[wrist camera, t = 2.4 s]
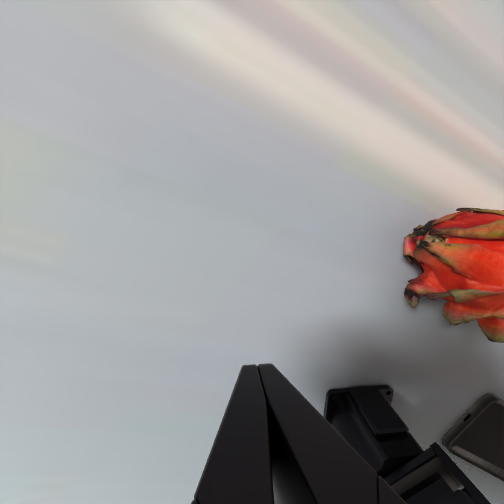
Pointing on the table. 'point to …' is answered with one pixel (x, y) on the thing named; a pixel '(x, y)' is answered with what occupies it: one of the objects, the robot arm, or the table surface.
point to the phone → (480, 436)
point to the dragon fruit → (462, 267)
